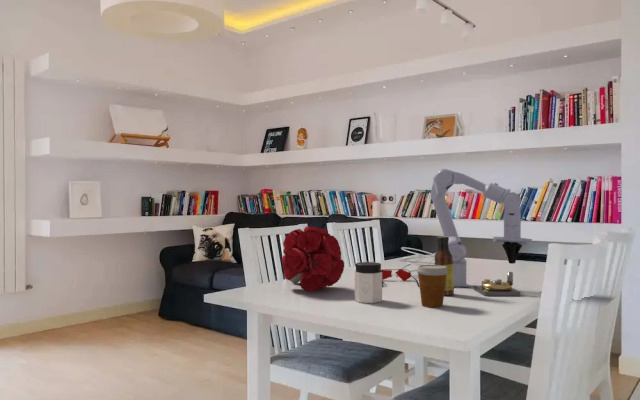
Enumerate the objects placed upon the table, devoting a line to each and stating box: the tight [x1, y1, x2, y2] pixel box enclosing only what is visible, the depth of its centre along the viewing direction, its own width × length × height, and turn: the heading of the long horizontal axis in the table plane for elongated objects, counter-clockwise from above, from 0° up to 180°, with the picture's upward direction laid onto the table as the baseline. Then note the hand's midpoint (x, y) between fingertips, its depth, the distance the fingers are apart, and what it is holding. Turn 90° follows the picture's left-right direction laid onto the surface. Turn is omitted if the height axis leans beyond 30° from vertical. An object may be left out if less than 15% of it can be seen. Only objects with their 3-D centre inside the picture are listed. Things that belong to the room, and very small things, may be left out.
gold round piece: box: [481, 271, 514, 291], centre depth 178 cm, size 10×10×6 cm
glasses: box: [381, 268, 420, 288], centre depth 198 cm, size 14×16×5 cm
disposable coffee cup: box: [415, 264, 448, 308], centre depth 158 cm, size 10×10×12 cm
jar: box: [354, 261, 383, 304], centre depth 165 cm, size 9×8×12 cm
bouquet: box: [281, 225, 345, 292], centre depth 188 cm, size 22×24×30 cm
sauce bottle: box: [433, 235, 455, 297], centre depth 176 cm, size 6×6×20 cm
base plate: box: [473, 285, 521, 297], centre depth 179 cm, size 12×12×2 cm
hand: (512, 263), depth 185 cm, fingers closed
